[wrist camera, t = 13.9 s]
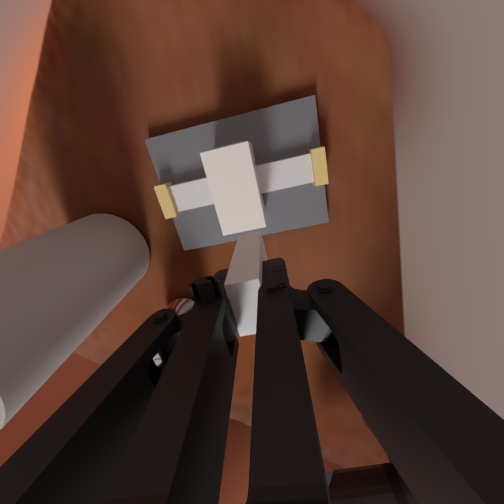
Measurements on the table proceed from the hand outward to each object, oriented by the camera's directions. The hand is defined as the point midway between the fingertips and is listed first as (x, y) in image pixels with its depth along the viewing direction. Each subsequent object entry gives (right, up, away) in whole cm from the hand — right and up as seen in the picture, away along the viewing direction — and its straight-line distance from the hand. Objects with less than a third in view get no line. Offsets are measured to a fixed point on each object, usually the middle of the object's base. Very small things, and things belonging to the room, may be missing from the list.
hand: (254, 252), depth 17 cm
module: (-2, +9, +17) cm, 19 cm away
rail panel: (-2, +10, +18) cm, 21 cm away
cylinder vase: (-23, 0, +24) cm, 33 cm away
